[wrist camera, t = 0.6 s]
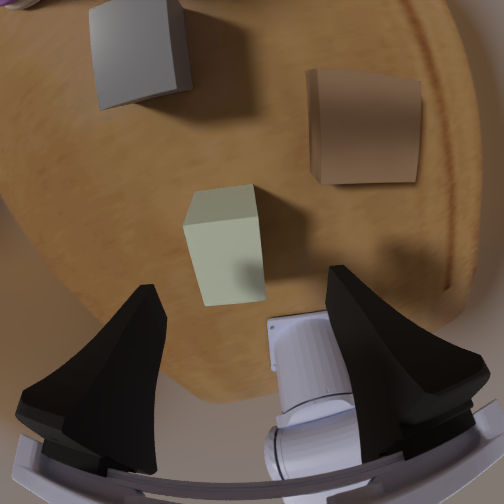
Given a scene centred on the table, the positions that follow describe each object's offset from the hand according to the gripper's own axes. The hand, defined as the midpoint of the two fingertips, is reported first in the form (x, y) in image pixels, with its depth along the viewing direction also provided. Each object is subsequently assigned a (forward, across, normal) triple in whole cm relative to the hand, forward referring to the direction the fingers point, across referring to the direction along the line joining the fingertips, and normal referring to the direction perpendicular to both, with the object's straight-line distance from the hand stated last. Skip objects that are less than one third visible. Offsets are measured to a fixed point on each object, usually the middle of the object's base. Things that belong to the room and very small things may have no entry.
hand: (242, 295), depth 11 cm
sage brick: (+10, +1, +2) cm, 10 cm away
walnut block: (+10, -8, -5) cm, 14 cm away
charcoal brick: (+9, +4, -11) cm, 15 cm away
